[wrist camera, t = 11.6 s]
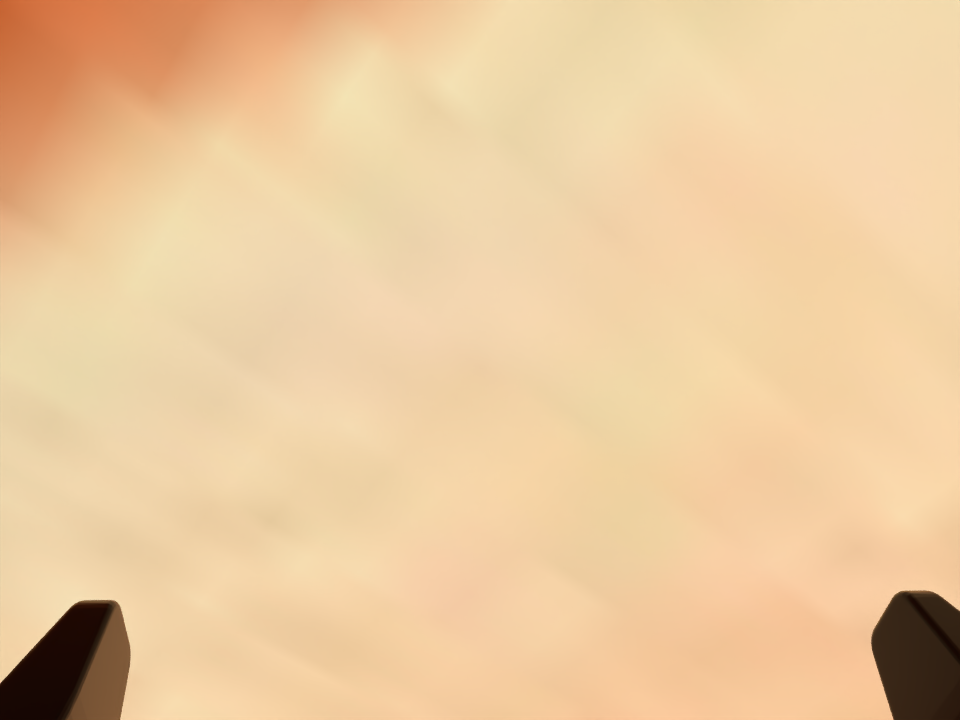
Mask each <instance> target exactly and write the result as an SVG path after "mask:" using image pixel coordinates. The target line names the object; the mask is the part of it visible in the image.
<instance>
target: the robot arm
mask: <svg viewBox="0 0 960 720" xmlns="http://www.w3.org/2000/svg"><path fill="white" fill-rule="evenodd" d="M871 644H872V651H873V655H874V658H875V662H876V665H877V668H878V671H879V674H880V678H881V681H882V684H883V687H884V691H885V694H886V697H887V700H888V703H889V707H890V710H891V713H892V716H893V720H960V611H959V610H958V609H956V608H955V607H954V606H952V605H951V604H950V603H949V602H947V601H946V600H945V599H943V598H942V597H941V596H939V595H938V594H936V593H934V592H931V591H900V592H899V593H897V594H895V595H894V597H893V598H892V600H891V601H890V603H889V605H888V606H887V608H886V610H885V611H884V613H883V615H882V616H881V618H880V620H879V621H878V623H877V625H876V627H875V628H874V630H873V633H872V640H871ZM129 667H130V644H129V640H128V636H127V632H126V627H125V623H124V619H123V615H122V611H121V608H120V606H119V604H118V603H117V602H116V601H113V600H84V601H80V602H78V603H76V604H74V605H73V606H72V607H71V608H70V609H69V610H68V611H67V612H66V613H65V614H64V615H63V616H62V617H61V618H60V619H59V620H58V622H57V623H56V624H55V625H54V626H53V627H52V628H51V629H50V630H49V631H48V632H47V633H46V635H45V636H44V637H43V638H42V639H41V640H40V641H39V642H38V643H37V644H36V645H35V646H34V648H33V649H32V650H31V651H30V652H29V653H28V654H27V655H26V656H25V657H24V658H23V659H22V661H21V662H20V663H19V664H18V665H17V666H16V667H15V668H14V669H13V670H12V671H11V672H10V674H9V675H8V676H7V677H6V678H5V679H4V680H3V681H2V682H1V683H0V720H120V717H121V712H122V706H123V701H124V695H125V690H126V684H127V679H128V673H129Z"/></svg>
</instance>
